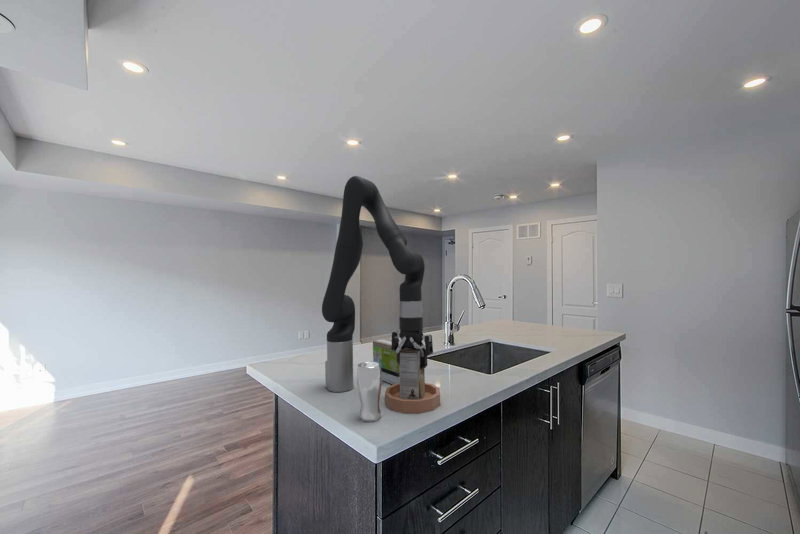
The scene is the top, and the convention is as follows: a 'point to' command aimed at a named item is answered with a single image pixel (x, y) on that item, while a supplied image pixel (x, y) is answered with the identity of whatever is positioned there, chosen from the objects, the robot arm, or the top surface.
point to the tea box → (387, 360)
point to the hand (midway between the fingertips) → (411, 366)
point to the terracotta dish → (412, 406)
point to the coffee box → (411, 374)
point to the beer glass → (369, 390)
